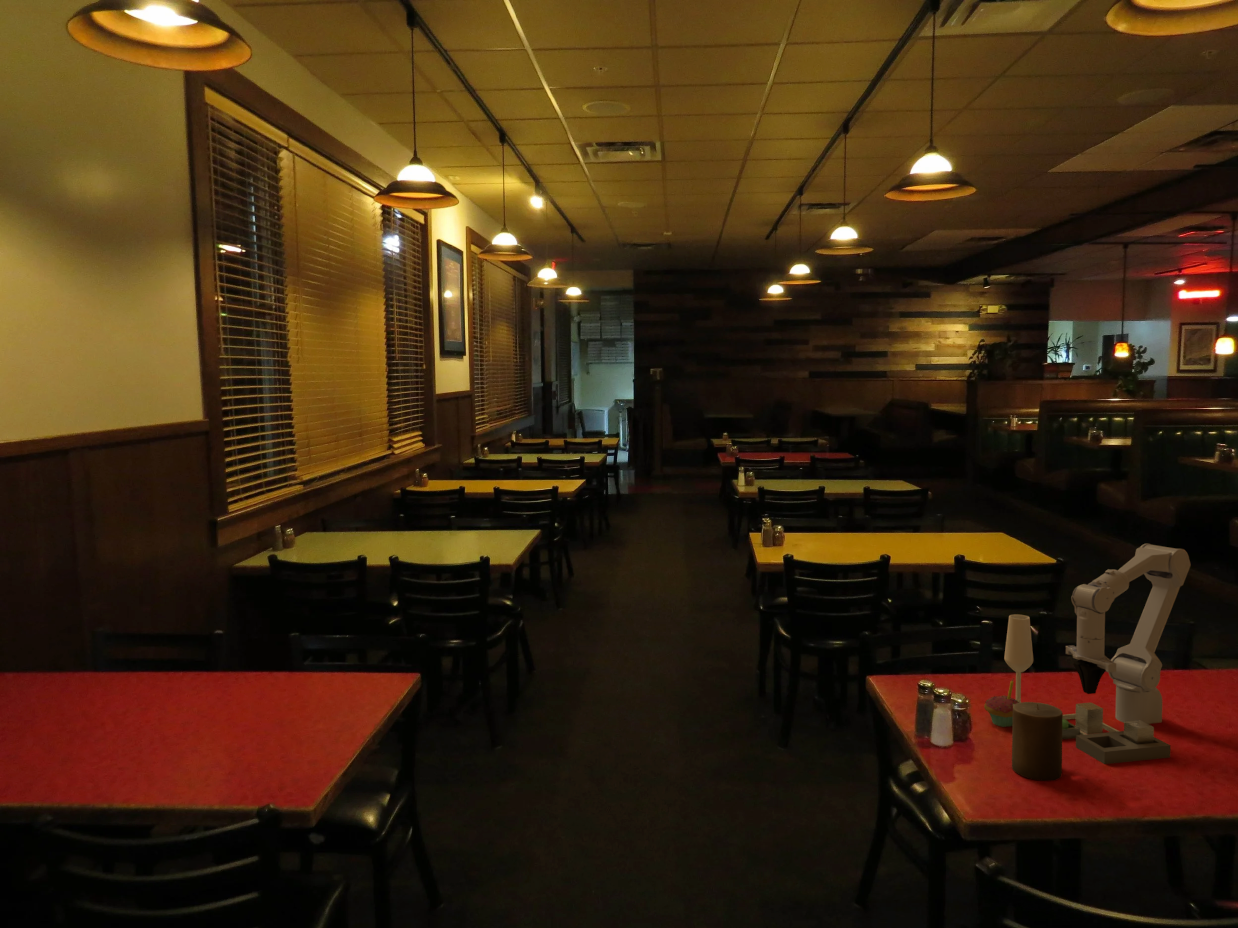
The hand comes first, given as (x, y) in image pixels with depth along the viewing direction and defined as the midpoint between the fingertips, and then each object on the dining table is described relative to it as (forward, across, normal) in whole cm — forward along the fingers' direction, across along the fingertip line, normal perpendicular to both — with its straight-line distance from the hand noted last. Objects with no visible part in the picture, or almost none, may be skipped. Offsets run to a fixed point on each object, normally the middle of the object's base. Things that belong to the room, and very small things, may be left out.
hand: (1089, 692), depth 201 cm
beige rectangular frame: (+10, 0, 0) cm, 10 cm away
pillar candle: (+10, +16, -24) cm, 31 cm away
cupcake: (+10, -8, -16) cm, 21 cm away
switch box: (+10, 0, -8) cm, 13 cm away
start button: (+10, +1, -8) cm, 12 cm away
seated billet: (+9, +12, +2) cm, 16 cm away
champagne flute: (+10, -18, -6) cm, 21 cm away
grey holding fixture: (+10, +12, -2) cm, 16 cm away
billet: (+9, 0, 0) cm, 9 cm away
